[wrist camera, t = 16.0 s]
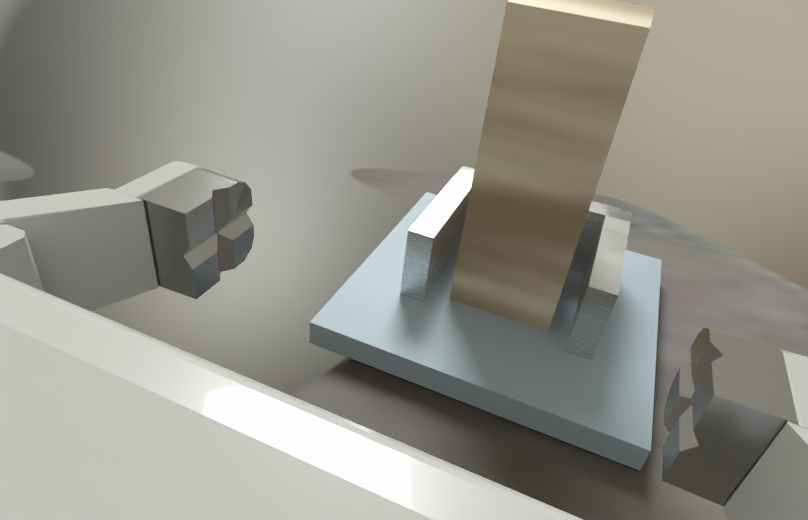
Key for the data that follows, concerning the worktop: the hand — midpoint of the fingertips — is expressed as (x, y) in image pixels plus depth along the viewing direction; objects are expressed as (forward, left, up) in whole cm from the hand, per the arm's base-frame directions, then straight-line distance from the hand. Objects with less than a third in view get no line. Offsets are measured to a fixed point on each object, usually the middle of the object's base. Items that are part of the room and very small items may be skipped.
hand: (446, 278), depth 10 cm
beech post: (+8, -8, -8) cm, 14 cm away
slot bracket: (+9, -9, -8) cm, 15 cm away
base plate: (+8, -8, -9) cm, 15 cm away
